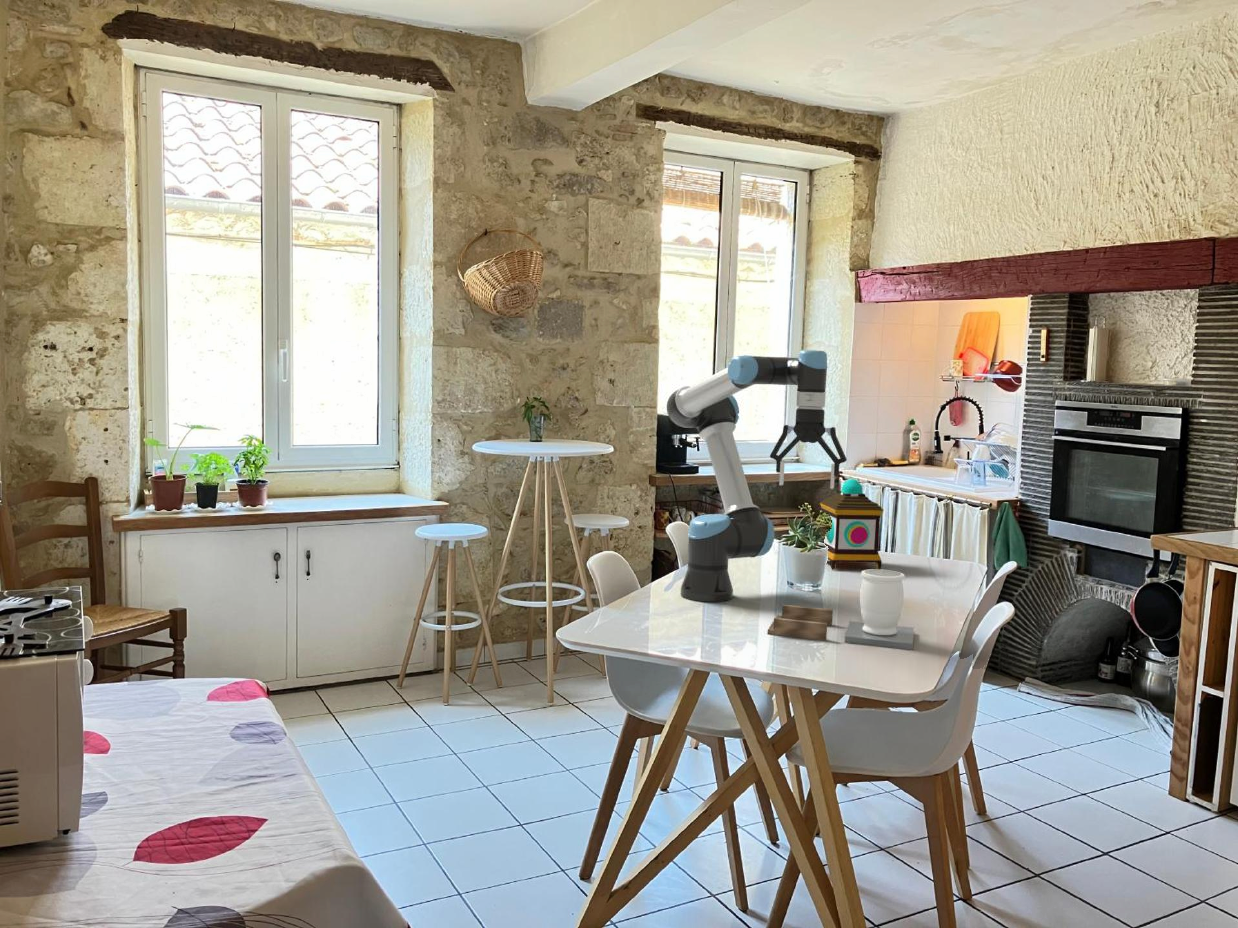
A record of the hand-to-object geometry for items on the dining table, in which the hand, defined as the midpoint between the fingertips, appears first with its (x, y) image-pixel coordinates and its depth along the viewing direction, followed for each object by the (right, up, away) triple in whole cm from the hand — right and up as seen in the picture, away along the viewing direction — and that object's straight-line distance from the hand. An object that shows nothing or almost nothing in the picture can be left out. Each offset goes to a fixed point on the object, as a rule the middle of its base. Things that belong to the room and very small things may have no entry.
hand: (806, 486), depth 267 cm
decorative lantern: (+28, -29, +72) cm, 82 cm away
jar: (+14, -36, -20) cm, 44 cm away
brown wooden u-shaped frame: (-4, -36, -15) cm, 39 cm away
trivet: (+15, -37, -20) cm, 45 cm away
